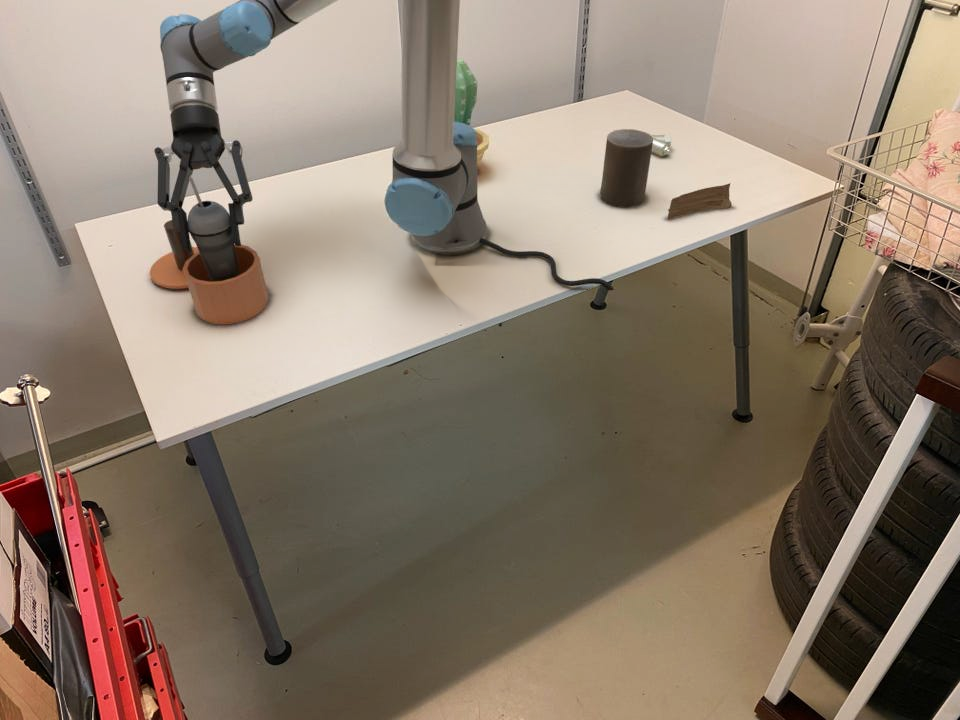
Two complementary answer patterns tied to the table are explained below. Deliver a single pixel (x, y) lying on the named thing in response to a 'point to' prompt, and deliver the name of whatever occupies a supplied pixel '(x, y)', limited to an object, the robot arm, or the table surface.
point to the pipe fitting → (661, 144)
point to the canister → (227, 289)
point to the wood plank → (700, 201)
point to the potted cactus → (468, 104)
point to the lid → (172, 262)
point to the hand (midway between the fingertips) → (212, 246)
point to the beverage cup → (213, 238)
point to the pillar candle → (626, 167)
